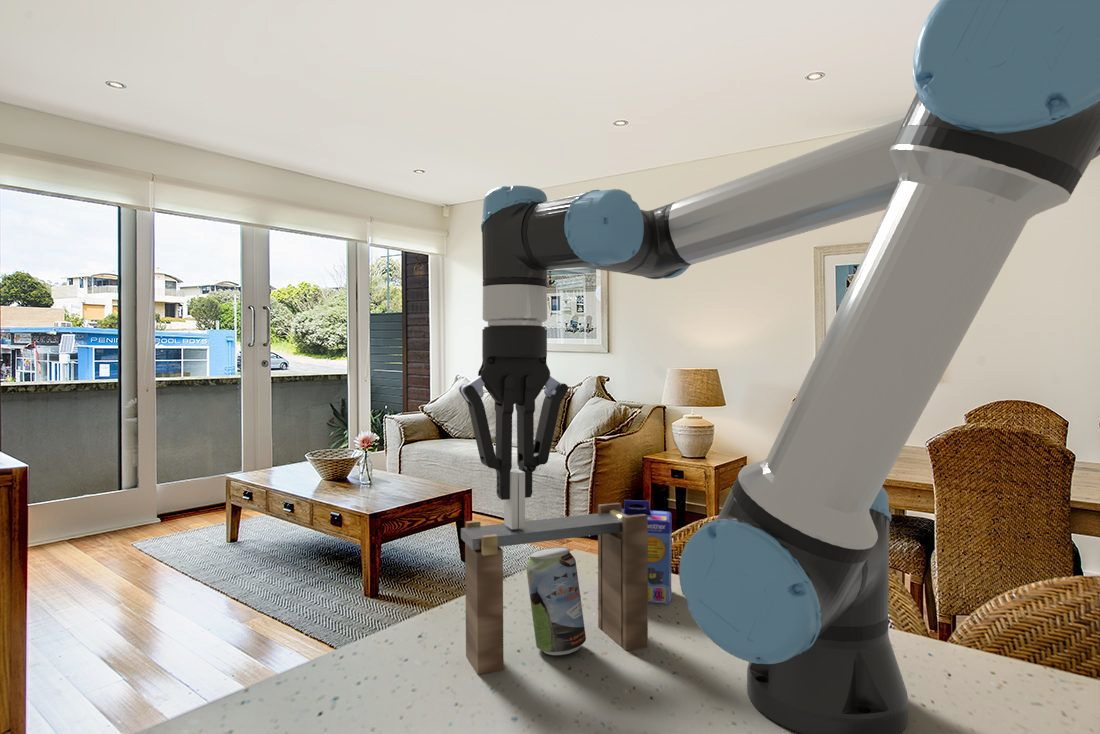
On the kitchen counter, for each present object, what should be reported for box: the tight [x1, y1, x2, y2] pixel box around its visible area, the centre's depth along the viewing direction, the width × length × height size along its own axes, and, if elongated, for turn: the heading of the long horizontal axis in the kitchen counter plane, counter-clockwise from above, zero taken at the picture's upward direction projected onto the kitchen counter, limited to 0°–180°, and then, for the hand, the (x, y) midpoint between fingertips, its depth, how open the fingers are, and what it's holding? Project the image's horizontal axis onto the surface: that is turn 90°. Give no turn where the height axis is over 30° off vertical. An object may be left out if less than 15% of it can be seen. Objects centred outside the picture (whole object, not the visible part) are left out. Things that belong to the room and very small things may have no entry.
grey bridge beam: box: [460, 510, 628, 550], centre depth 79 cm, size 21×5×2 cm, turn 112°
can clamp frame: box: [464, 502, 649, 676], centre depth 80 cm, size 21×7×16 cm, turn 112°
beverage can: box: [525, 546, 587, 656], centre depth 80 cm, size 6×7×12 cm
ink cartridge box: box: [621, 499, 673, 605], centre depth 97 cm, size 10×6×14 cm, turn 79°
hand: (514, 525), depth 78 cm, fingers closed
